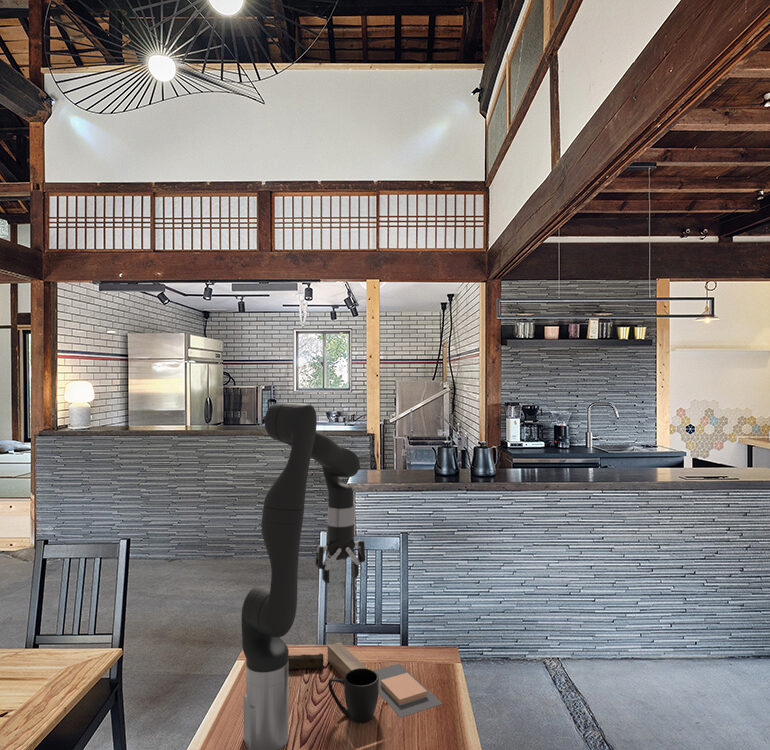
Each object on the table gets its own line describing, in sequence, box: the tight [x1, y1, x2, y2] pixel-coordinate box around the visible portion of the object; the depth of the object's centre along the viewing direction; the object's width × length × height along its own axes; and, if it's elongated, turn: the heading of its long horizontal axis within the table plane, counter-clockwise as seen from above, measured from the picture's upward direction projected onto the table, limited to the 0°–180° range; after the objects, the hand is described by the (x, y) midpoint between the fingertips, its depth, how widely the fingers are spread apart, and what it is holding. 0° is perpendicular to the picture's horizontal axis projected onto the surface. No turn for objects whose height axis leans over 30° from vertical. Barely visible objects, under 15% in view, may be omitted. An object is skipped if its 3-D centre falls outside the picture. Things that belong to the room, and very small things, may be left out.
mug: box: [327, 668, 379, 724], centre depth 128 cm, size 8×12×10 cm
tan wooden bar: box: [327, 641, 369, 679], centre depth 147 cm, size 4×18×5 cm, turn 29°
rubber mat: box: [373, 663, 444, 718], centre depth 139 cm, size 12×22×1 cm, turn 28°
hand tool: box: [289, 653, 324, 671], centre depth 150 cm, size 19×4×5 cm, turn 90°
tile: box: [381, 673, 427, 706], centre depth 138 cm, size 8×2×10 cm
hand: (340, 580), depth 152 cm, fingers open, 8 cm apart
